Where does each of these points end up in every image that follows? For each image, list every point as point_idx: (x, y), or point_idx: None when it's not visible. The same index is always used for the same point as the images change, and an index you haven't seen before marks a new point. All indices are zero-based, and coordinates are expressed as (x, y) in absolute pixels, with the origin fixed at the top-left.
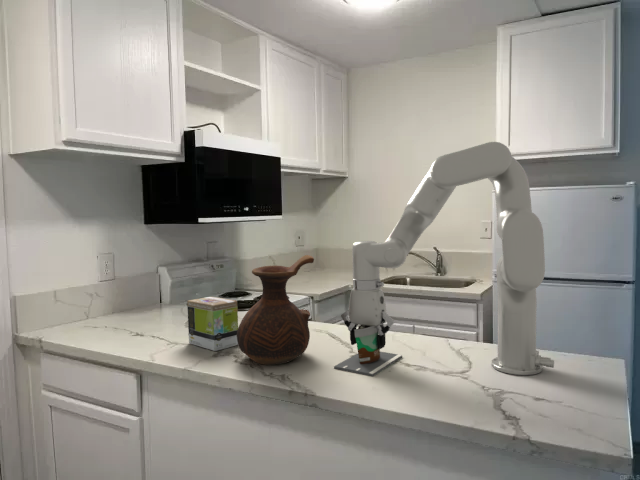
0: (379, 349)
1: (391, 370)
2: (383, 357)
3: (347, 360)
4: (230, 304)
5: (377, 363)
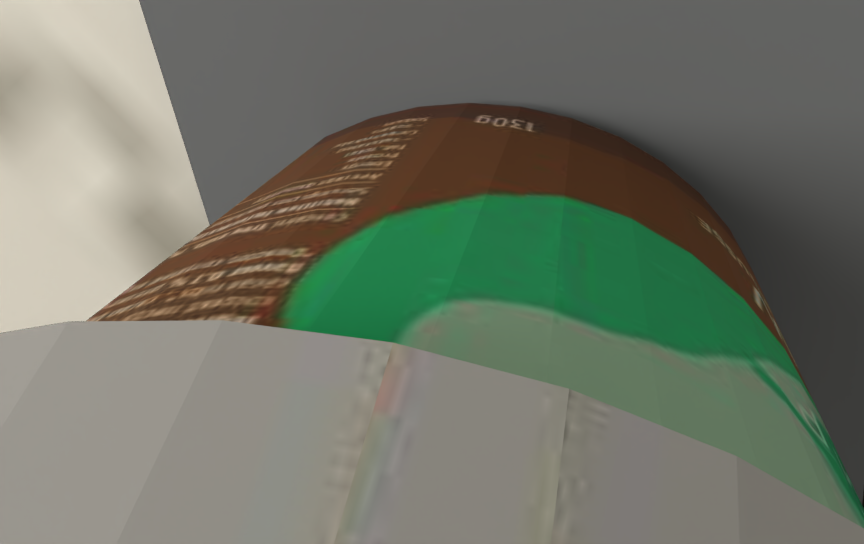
0: (789, 351)
1: None
2: (729, 102)
3: None
4: None
5: None
